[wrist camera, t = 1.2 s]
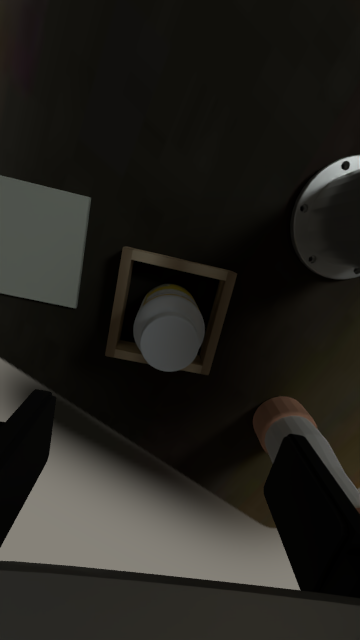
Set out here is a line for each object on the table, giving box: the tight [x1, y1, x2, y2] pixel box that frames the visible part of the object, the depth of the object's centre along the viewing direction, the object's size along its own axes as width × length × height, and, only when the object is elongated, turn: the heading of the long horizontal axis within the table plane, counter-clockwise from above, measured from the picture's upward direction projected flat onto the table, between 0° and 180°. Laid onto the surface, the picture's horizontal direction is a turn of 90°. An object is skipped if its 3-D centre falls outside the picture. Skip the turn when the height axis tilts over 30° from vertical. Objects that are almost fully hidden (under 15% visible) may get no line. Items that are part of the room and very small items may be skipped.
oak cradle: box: [105, 247, 237, 375], centre depth 31 cm, size 12×12×3 cm
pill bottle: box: [133, 284, 205, 372], centre depth 27 cm, size 6×6×12 cm
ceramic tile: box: [0, 175, 91, 308], centre depth 29 cm, size 11×12×1 cm
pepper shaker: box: [253, 396, 360, 514], centre depth 28 cm, size 7×7×19 cm
